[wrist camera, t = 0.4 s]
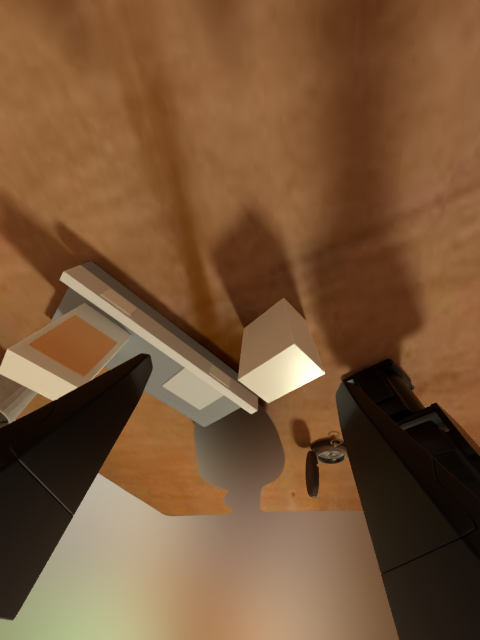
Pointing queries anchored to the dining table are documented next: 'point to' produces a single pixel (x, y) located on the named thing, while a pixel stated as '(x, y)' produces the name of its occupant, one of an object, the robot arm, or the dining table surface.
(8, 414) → the house plant
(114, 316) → the shelf board
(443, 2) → the dining table surface
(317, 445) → the compass
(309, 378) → the carton
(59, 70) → the dining table surface
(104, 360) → the faced carton
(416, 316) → the dining table surface
